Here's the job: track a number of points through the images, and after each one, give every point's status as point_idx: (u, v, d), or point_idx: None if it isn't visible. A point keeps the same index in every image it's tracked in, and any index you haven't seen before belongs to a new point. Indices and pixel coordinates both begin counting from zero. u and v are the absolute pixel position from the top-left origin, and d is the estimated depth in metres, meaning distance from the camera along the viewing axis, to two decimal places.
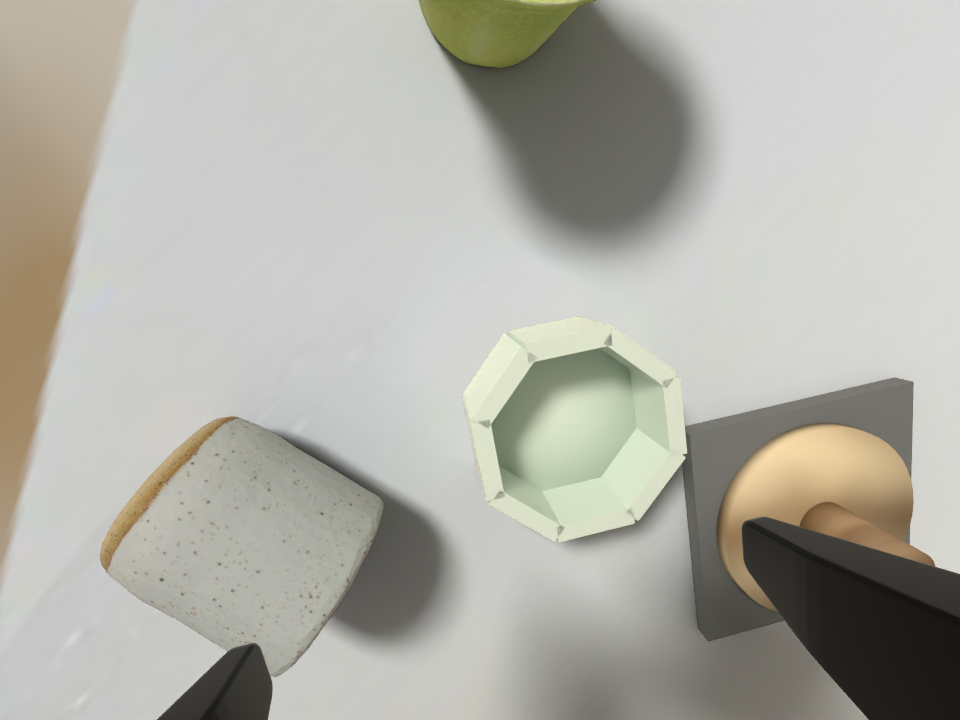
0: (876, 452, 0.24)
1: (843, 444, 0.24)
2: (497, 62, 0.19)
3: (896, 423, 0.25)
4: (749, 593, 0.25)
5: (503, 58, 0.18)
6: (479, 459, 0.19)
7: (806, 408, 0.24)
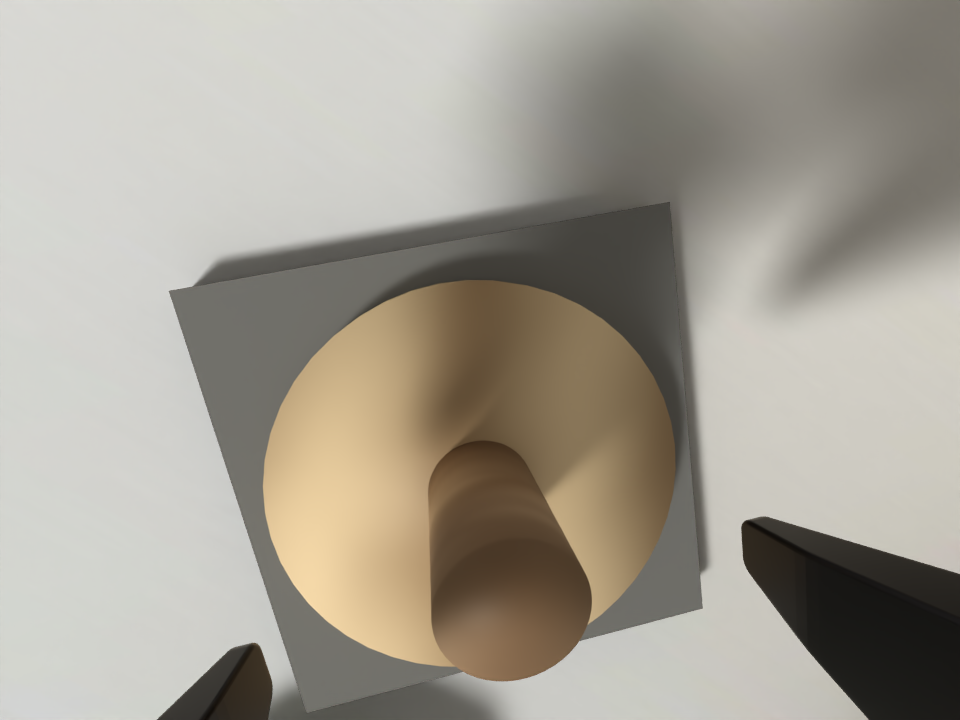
0: (316, 404, 0.11)
1: (298, 483, 0.11)
2: None
3: (271, 314, 0.11)
4: (608, 603, 0.13)
5: None
6: None
7: (248, 517, 0.12)
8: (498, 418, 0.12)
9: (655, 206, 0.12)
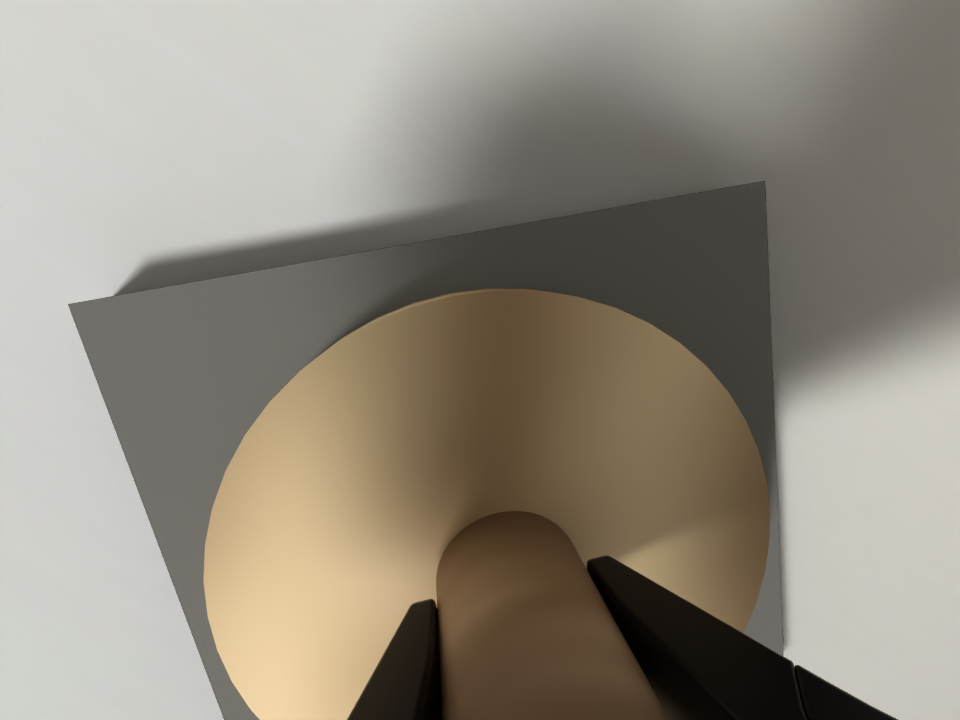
0: (277, 466, 0.08)
1: (254, 575, 0.08)
2: None
3: (216, 335, 0.08)
4: None
5: None
6: None
7: (191, 609, 0.09)
8: (534, 481, 0.08)
9: (746, 186, 0.09)
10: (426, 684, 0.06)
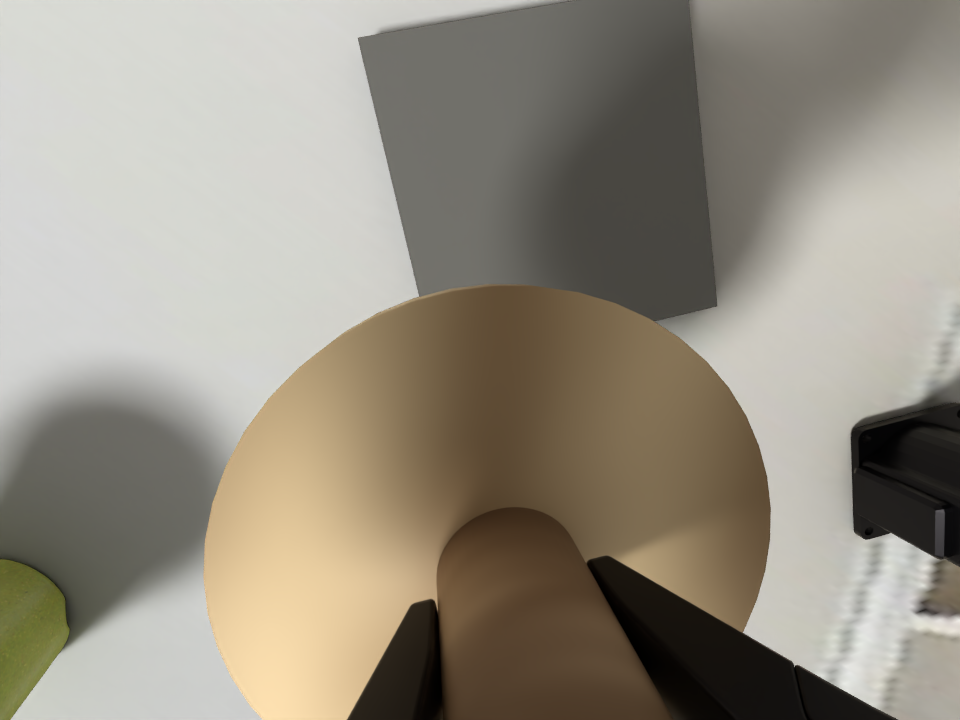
0: (277, 462, 0.08)
1: (254, 571, 0.08)
2: (55, 624, 0.19)
3: (422, 57, 0.17)
4: None
5: (45, 630, 0.19)
6: None
7: (402, 212, 0.18)
8: (534, 477, 0.08)
9: None
10: (426, 684, 0.06)
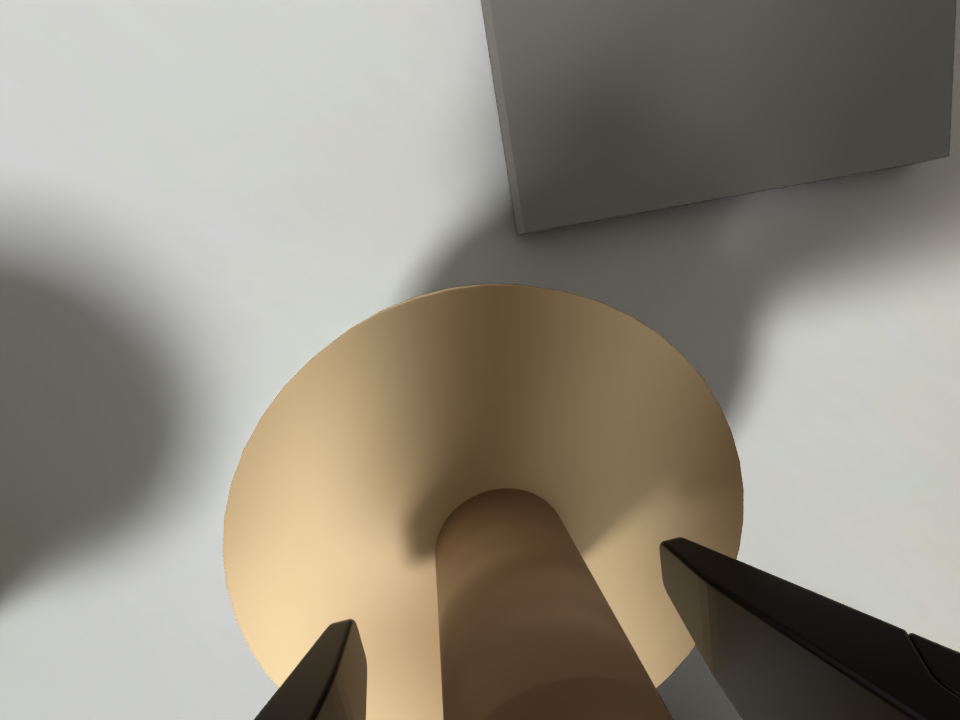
0: (290, 446, 0.09)
1: (269, 546, 0.09)
2: None
3: None
4: (657, 681, 0.11)
5: None
6: None
7: None
8: (525, 460, 0.09)
9: None
10: (317, 713, 0.06)
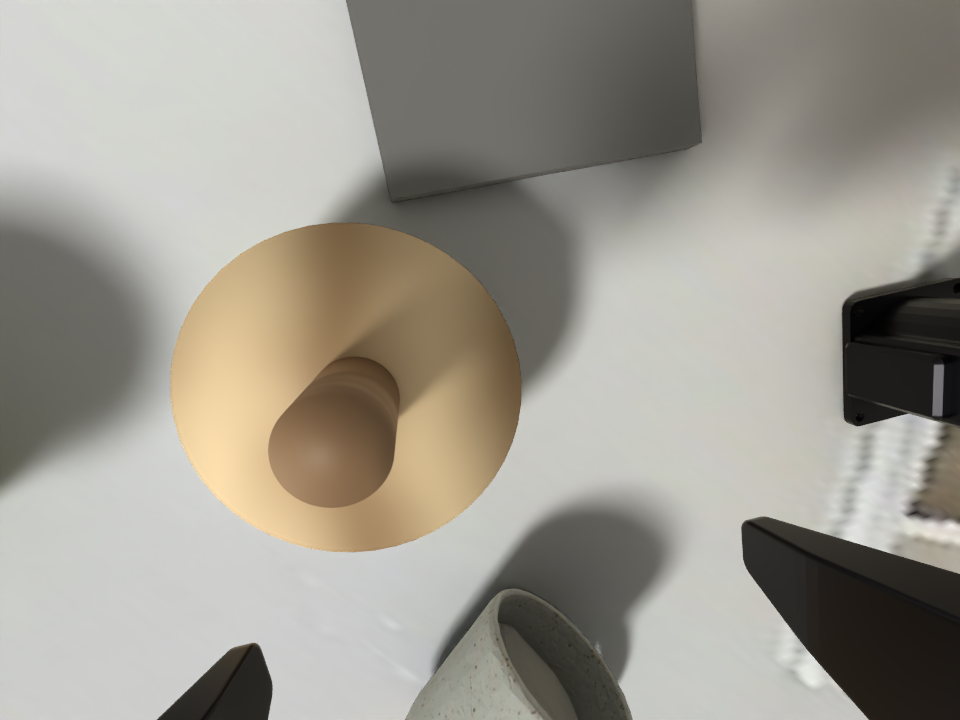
0: (211, 325, 0.14)
1: (200, 392, 0.14)
2: None
3: None
4: (473, 497, 0.16)
5: None
6: None
7: (349, 2, 0.16)
8: (366, 338, 0.14)
9: None
10: None
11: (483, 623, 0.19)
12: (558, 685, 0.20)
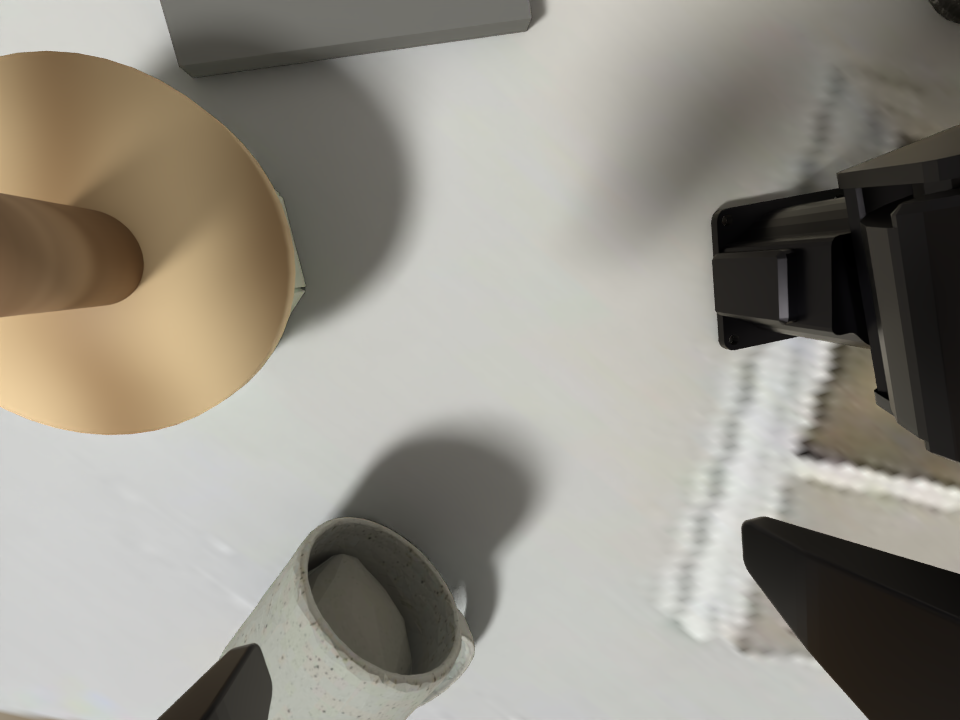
0: None
1: None
2: None
3: None
4: (240, 380, 0.15)
5: None
6: None
7: None
8: (98, 188, 0.13)
9: None
10: None
11: (302, 543, 0.18)
12: (391, 616, 0.19)
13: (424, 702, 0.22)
